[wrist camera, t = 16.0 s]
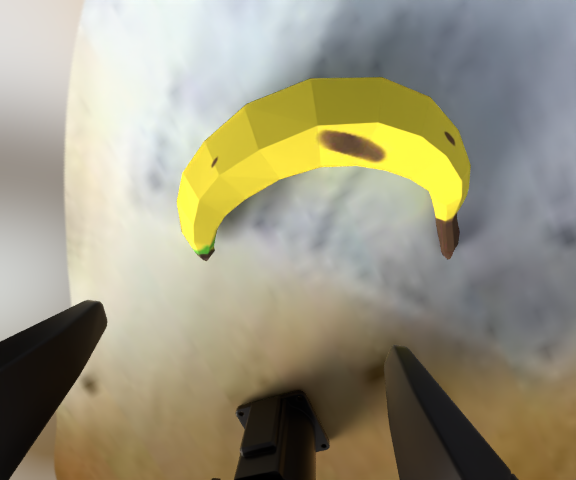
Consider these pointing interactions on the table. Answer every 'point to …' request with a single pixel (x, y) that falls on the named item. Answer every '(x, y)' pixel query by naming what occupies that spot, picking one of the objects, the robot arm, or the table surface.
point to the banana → (325, 150)
